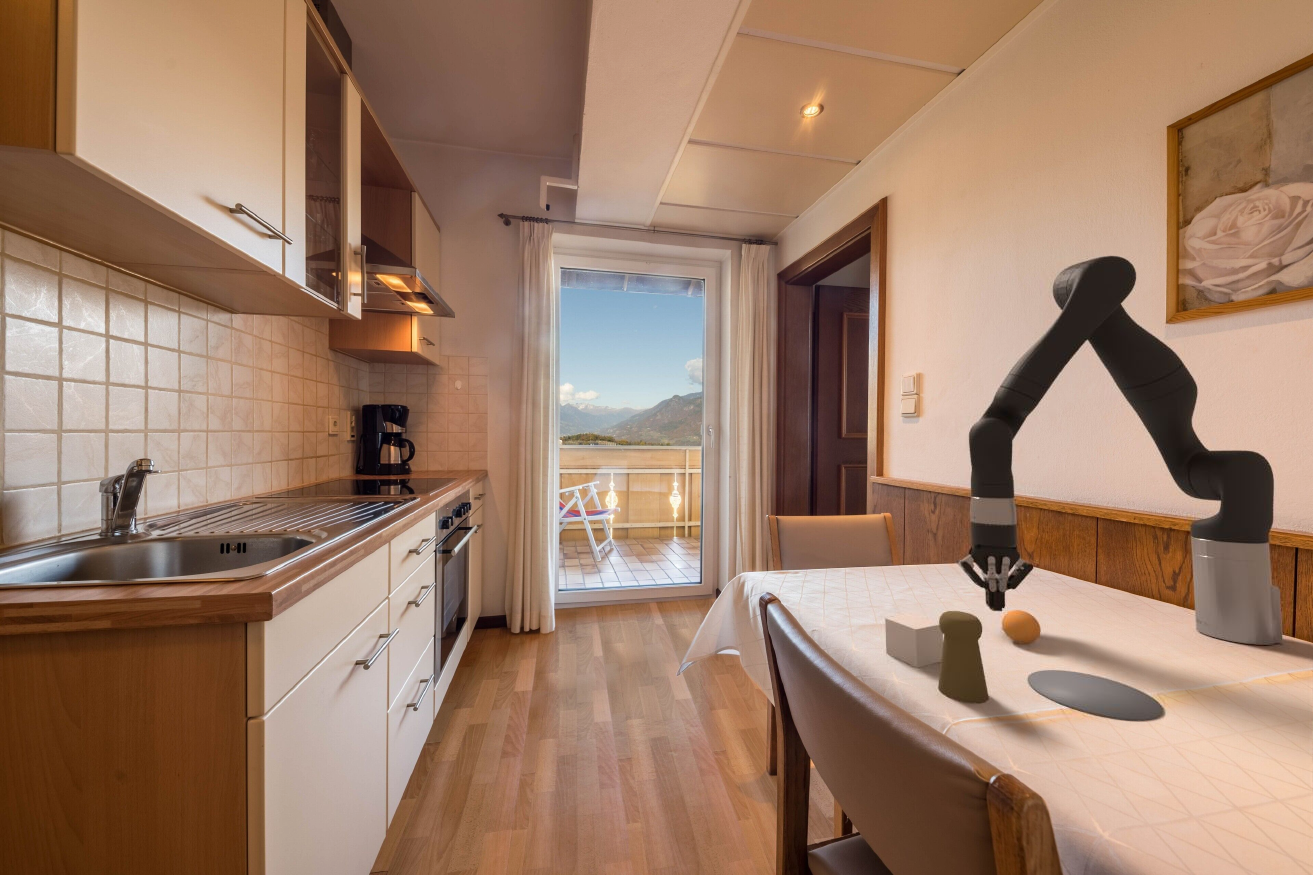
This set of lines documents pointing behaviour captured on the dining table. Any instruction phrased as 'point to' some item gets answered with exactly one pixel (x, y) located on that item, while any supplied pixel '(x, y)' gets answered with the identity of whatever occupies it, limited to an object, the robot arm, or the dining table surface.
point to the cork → (962, 658)
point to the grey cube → (914, 639)
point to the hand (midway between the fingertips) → (995, 609)
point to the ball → (1021, 626)
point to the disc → (1095, 695)
